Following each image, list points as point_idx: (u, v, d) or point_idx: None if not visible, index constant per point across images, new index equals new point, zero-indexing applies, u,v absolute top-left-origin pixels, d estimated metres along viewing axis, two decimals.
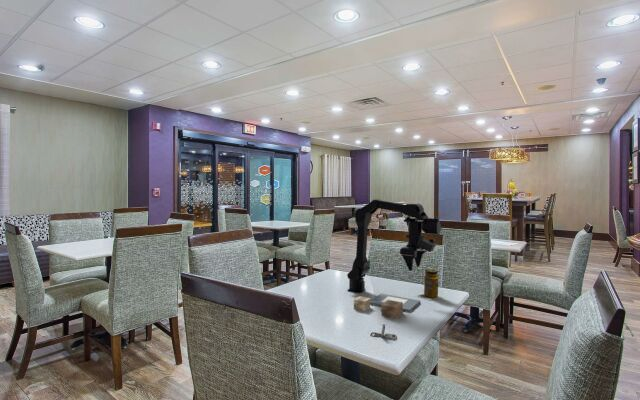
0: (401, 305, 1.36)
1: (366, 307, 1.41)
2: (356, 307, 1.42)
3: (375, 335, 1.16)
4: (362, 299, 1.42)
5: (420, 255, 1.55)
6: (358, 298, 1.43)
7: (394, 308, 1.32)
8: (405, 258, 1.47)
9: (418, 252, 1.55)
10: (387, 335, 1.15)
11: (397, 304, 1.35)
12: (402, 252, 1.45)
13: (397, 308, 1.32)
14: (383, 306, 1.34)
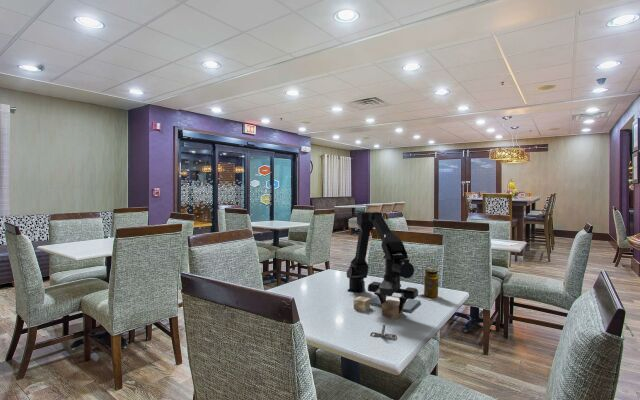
0: None
1: (366, 307, 1.41)
2: (356, 307, 1.42)
3: (375, 335, 1.16)
4: (362, 299, 1.42)
5: None
6: (358, 298, 1.43)
7: (394, 308, 1.32)
8: None
9: None
10: (387, 335, 1.15)
11: (397, 303, 1.35)
12: None
13: (397, 307, 1.32)
14: (383, 306, 1.34)
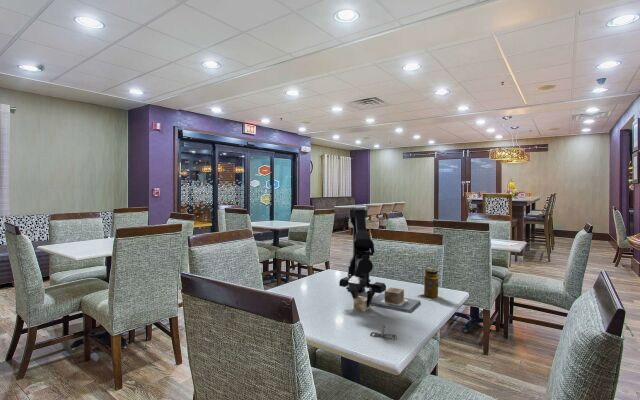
0: (402, 292, 1.49)
1: (366, 307, 1.41)
2: (356, 307, 1.42)
3: (375, 335, 1.16)
4: (362, 299, 1.42)
5: None
6: (358, 298, 1.43)
7: (396, 294, 1.45)
8: None
9: None
10: (387, 335, 1.15)
11: (399, 291, 1.48)
12: None
13: (398, 294, 1.45)
14: (386, 292, 1.48)
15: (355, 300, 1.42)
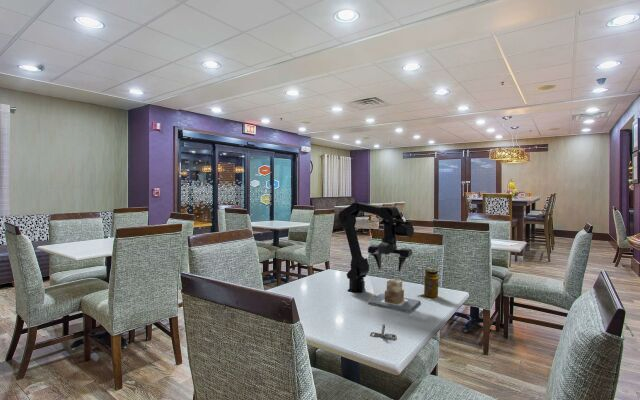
0: (402, 292, 1.49)
1: (399, 289, 1.47)
2: (389, 289, 1.48)
3: (375, 335, 1.16)
4: (395, 281, 1.48)
5: None
6: (391, 281, 1.49)
7: (396, 294, 1.45)
8: None
9: None
10: (387, 335, 1.15)
11: None
12: None
13: (398, 294, 1.45)
14: (386, 292, 1.48)
15: (388, 283, 1.48)
